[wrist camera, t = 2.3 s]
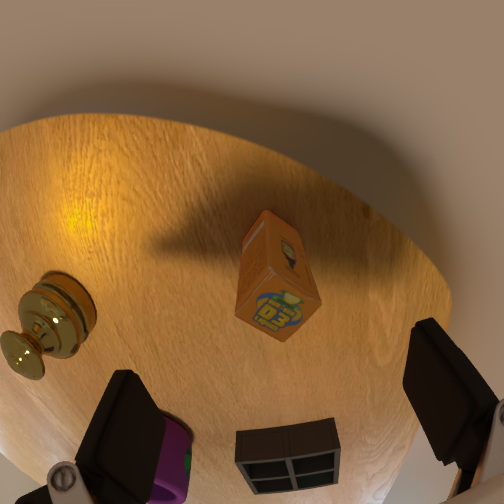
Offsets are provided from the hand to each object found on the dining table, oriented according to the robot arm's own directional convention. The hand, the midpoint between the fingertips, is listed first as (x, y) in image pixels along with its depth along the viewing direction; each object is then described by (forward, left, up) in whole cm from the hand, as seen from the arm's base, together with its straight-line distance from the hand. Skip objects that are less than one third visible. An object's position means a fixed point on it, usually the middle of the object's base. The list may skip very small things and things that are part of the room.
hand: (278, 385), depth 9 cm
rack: (+2, +30, -15) cm, 33 cm away
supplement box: (0, 0, -15) cm, 15 cm away
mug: (+20, +26, -15) cm, 36 cm away
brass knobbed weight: (+21, +3, -15) cm, 26 cm away
